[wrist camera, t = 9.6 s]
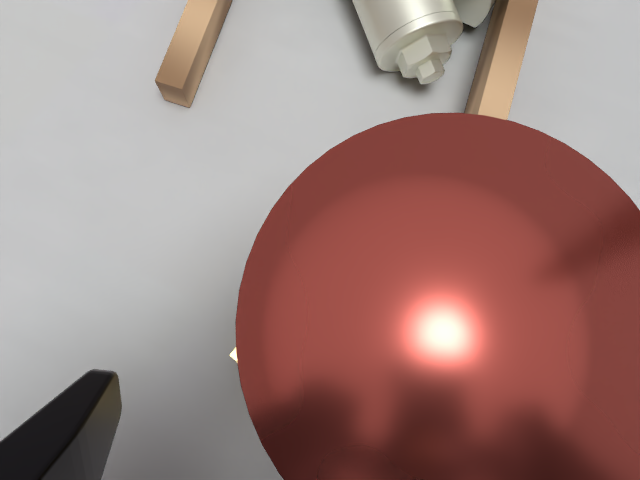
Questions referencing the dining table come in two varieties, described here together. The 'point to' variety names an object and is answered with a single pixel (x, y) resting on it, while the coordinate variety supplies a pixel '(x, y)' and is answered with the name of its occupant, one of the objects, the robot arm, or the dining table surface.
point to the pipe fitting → (417, 32)
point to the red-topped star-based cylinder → (446, 310)
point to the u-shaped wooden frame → (485, 95)
